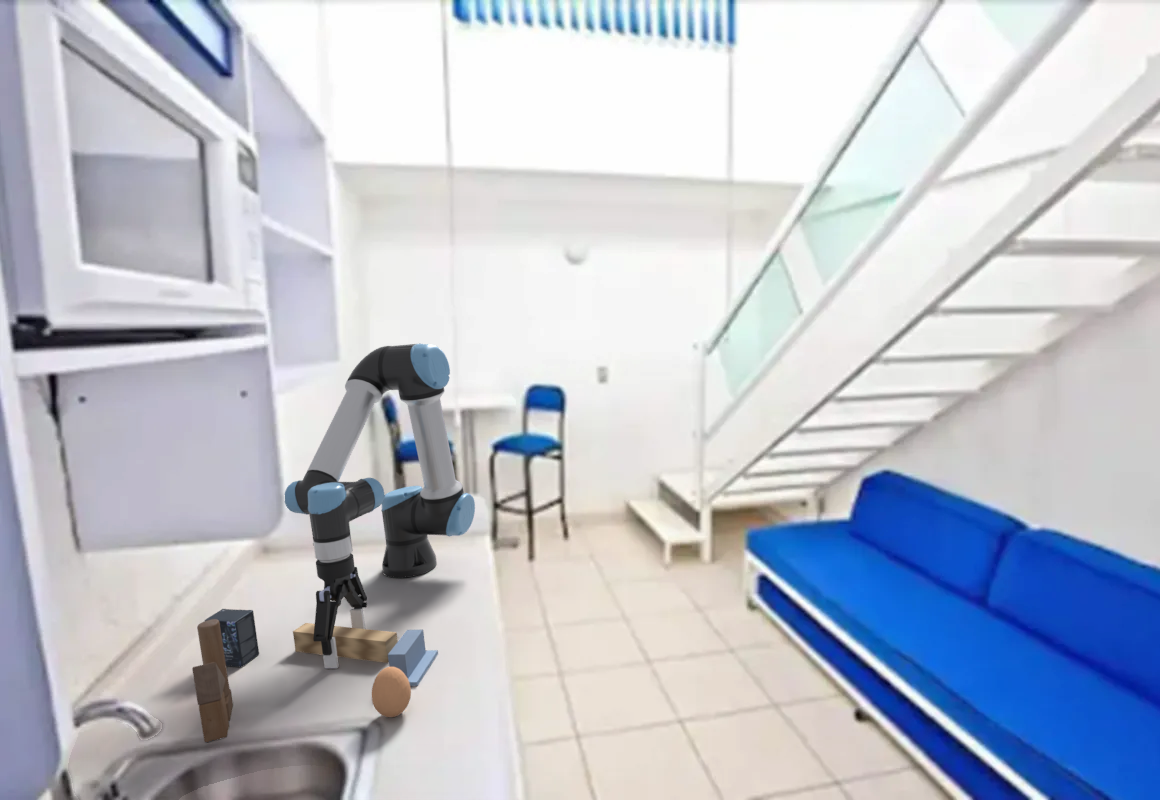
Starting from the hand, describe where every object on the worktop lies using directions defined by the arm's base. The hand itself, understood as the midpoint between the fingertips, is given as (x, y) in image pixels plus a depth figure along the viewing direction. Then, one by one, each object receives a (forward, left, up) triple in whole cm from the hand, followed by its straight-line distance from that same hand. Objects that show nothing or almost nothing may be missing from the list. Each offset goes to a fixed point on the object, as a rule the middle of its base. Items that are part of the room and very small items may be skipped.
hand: (346, 651), depth 142 cm
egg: (+22, +20, 0) cm, 30 cm away
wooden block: (+25, -12, 0) cm, 28 cm away
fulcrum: (+7, +17, 0) cm, 18 cm away
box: (+3, -24, 0) cm, 24 cm away
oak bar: (0, 0, -1) cm, 1 cm away
